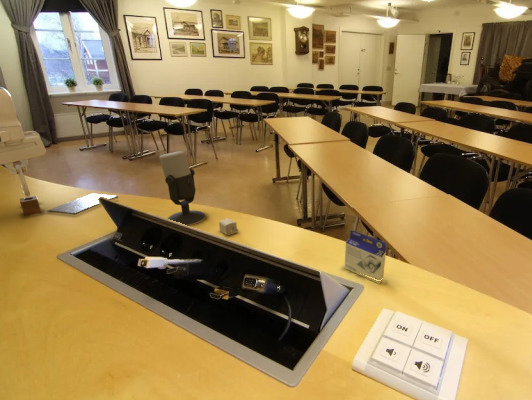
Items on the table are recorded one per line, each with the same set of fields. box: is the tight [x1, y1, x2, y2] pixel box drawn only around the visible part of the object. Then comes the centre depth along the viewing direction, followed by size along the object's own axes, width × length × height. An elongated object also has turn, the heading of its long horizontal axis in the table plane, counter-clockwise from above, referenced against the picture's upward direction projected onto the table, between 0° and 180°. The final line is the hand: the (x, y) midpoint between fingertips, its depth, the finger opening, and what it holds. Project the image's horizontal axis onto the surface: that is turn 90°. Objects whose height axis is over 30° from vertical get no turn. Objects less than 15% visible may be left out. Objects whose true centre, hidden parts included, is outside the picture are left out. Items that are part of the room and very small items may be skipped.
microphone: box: [158, 150, 206, 227], centre depth 114 cm, size 13×13×25 cm
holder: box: [19, 195, 42, 217], centre depth 119 cm, size 5×5×6 cm
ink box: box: [343, 229, 388, 285], centre depth 85 cm, size 12×2×12 cm, turn 50°
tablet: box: [47, 193, 118, 216], centre depth 129 cm, size 13×20×1 cm, turn 168°
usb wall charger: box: [218, 217, 239, 236], centre depth 107 cm, size 4×7×4 cm, turn 44°
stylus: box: [15, 164, 31, 197], centre depth 116 cm, size 1×1×12 cm
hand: (20, 173), depth 115 cm, fingers closed on stylus, 1 cm apart
